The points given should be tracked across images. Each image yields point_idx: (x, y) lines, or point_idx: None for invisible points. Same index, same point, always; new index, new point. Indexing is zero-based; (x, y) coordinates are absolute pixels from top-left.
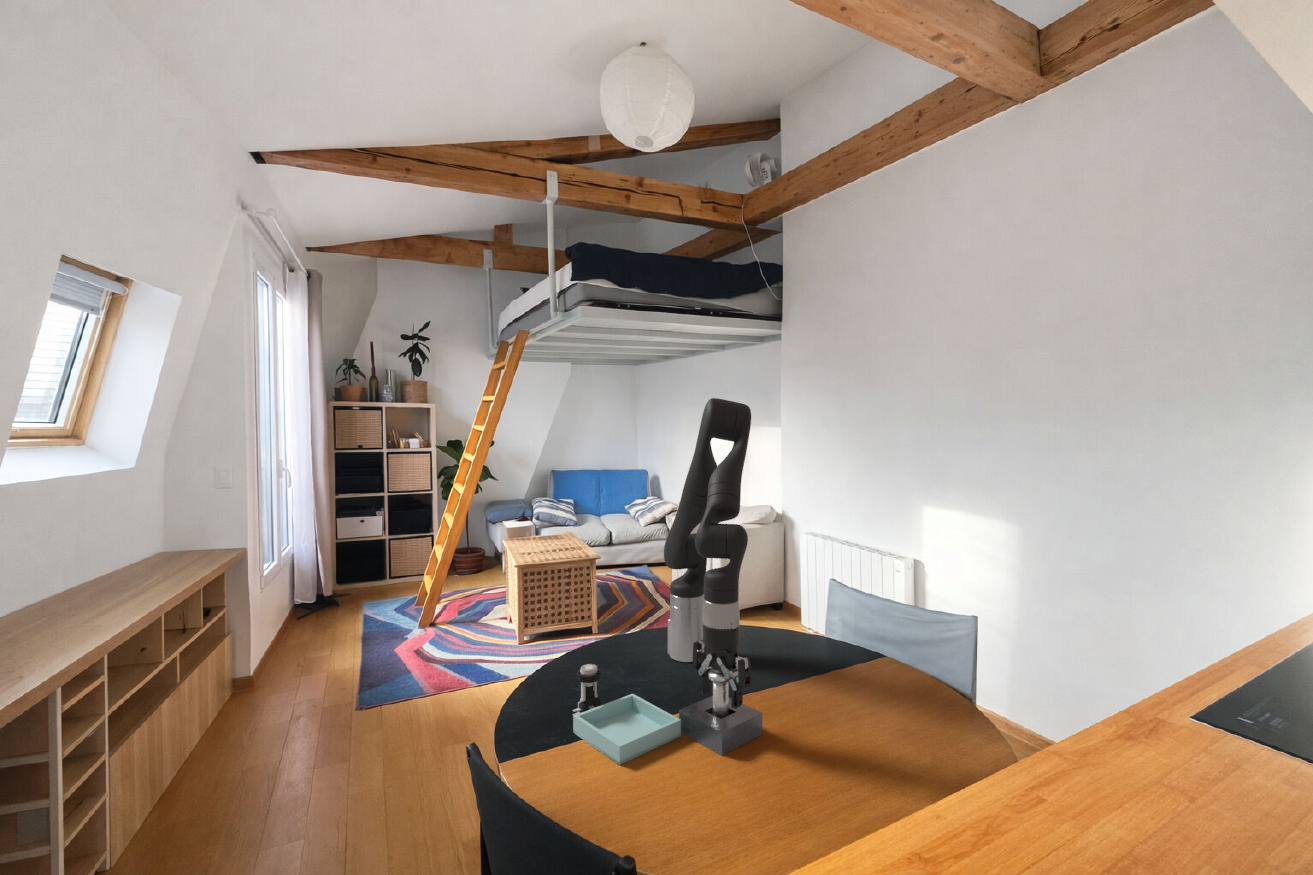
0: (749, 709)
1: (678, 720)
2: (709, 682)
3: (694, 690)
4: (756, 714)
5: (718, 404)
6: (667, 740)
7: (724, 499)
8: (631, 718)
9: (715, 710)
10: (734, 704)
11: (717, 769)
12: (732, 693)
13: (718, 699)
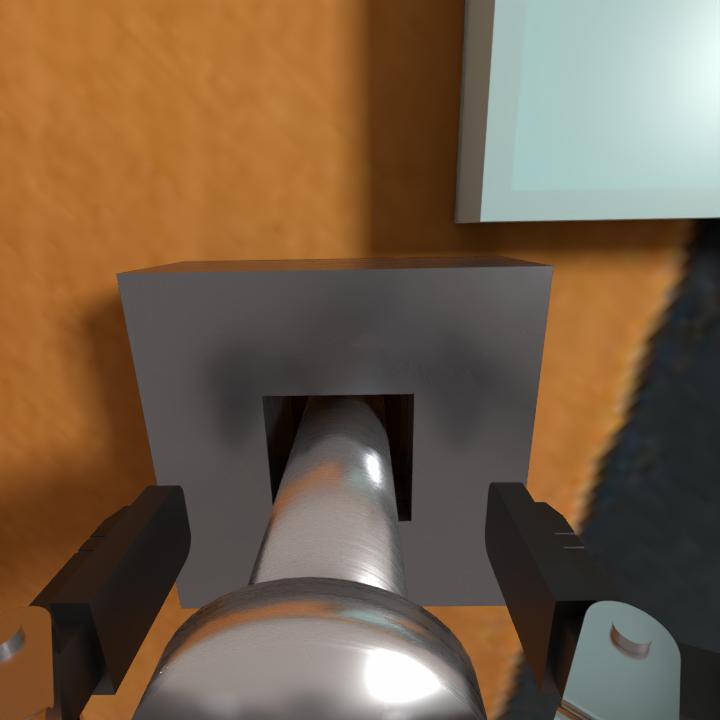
0: None
1: (485, 201)
2: (509, 599)
3: (708, 582)
4: (185, 576)
5: None
6: (463, 108)
7: None
8: None
9: (335, 427)
10: (136, 506)
11: (94, 147)
12: (94, 572)
13: (300, 481)
